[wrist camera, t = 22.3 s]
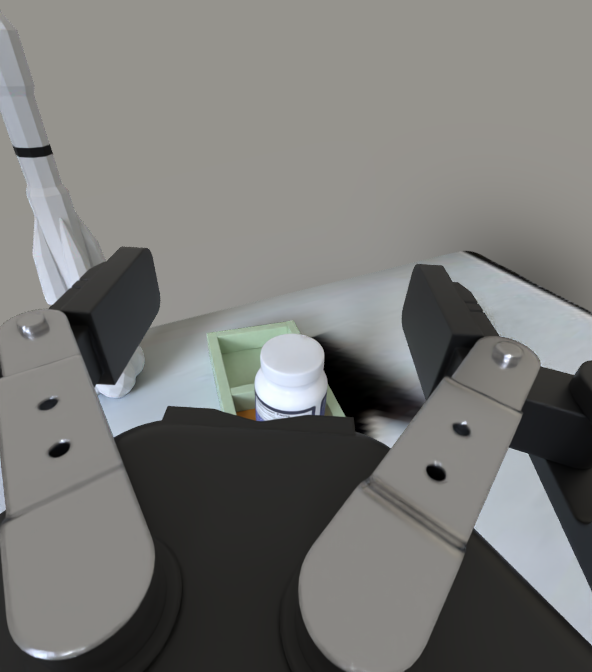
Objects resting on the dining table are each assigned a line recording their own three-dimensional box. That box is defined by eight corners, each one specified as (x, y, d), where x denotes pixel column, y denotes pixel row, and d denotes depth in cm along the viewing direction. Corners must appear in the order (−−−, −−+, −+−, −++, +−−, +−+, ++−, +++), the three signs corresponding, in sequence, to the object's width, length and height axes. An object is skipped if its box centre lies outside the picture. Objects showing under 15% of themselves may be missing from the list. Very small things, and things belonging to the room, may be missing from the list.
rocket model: (89, 424, 34) (-109, -33, 16) (62, 381, 38) (-121, -21, 20) (163, 386, 38) (72, -10, 20) (132, 351, 43) (33, -4, 24)
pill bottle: (284, 404, 36) (288, 319, 30) (333, 435, 34) (347, 349, 28) (242, 441, 33) (236, 353, 27) (293, 480, 30) (299, 391, 24)
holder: (241, 507, 29) (240, 486, 27) (209, 353, 43) (206, 332, 41) (360, 474, 31) (365, 453, 30) (292, 339, 46) (293, 320, 44)
